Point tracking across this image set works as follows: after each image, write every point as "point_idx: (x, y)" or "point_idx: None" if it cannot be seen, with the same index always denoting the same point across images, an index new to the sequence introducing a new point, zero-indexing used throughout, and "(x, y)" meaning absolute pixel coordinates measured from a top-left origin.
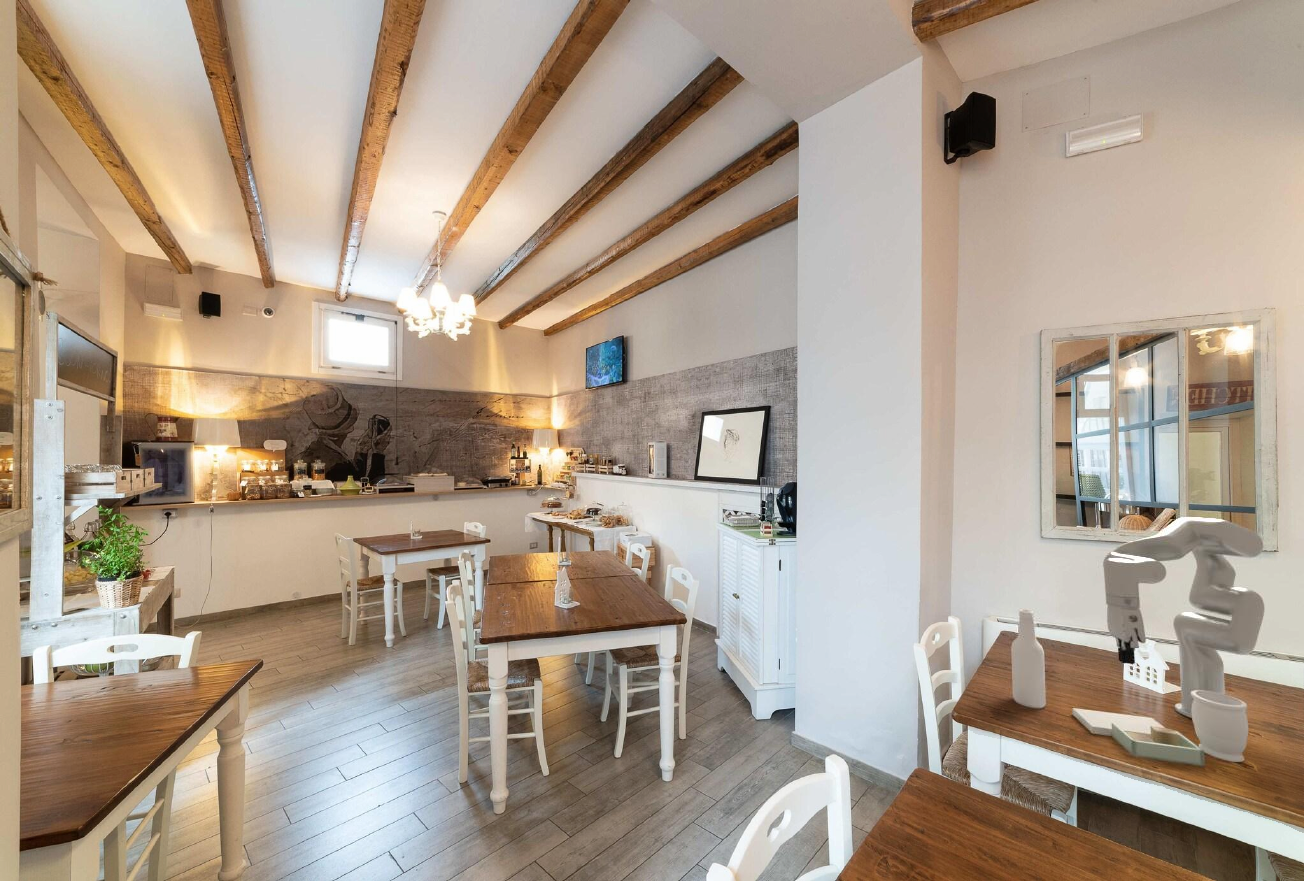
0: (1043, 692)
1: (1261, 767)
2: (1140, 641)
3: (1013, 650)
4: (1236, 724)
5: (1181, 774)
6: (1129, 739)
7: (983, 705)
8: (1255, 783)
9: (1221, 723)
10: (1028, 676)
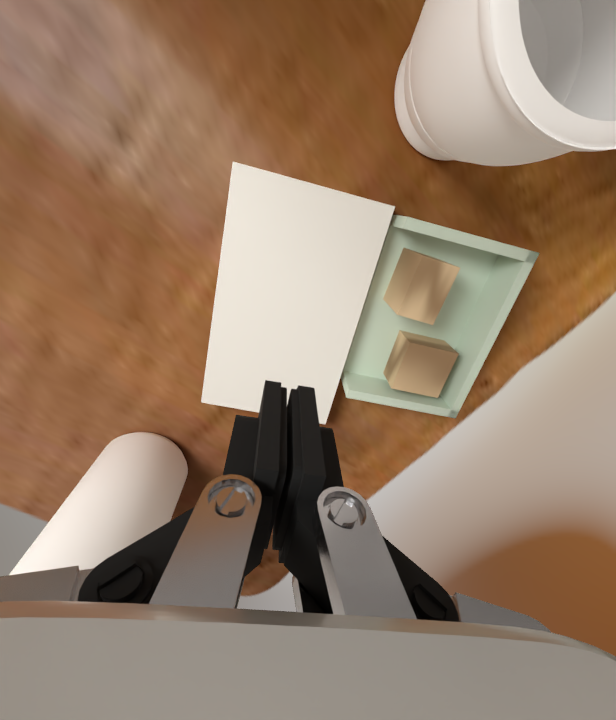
0: (164, 479)
1: None
2: (489, 630)
3: None
4: None
5: (524, 346)
6: (438, 413)
7: None
8: (606, 171)
9: (611, 119)
10: None
